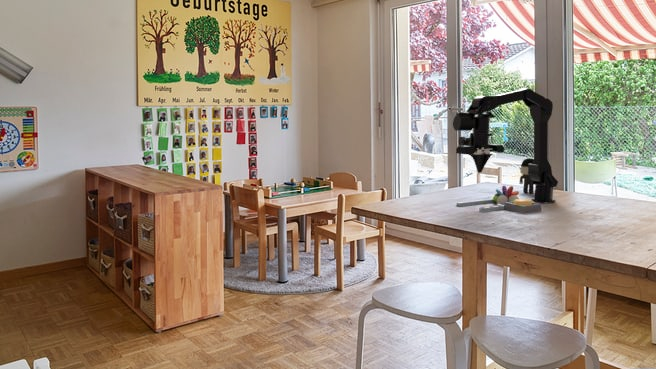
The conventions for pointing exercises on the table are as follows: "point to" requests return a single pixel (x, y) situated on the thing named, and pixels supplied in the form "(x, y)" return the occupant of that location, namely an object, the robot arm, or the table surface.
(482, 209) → the rail
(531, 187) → the toy
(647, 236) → the table surface
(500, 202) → the multicoloured petal shapes
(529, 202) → the dome
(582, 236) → the table surface
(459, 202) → the rail
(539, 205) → the dome housing
